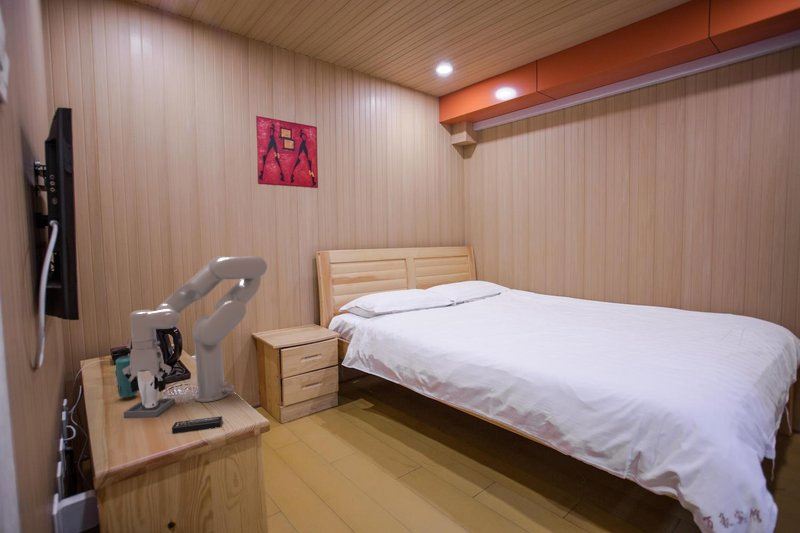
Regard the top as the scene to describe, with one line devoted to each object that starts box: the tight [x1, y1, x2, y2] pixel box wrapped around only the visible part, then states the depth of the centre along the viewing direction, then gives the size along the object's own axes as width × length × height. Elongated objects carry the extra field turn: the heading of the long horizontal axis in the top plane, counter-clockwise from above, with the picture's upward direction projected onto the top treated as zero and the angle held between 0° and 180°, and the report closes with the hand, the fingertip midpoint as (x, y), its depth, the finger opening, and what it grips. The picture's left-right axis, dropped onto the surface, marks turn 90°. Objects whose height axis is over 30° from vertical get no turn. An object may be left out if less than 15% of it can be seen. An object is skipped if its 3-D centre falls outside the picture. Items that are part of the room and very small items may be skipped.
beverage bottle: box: [114, 347, 139, 398], centre depth 164 cm, size 6×7×20 cm
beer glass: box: [136, 371, 161, 411], centre depth 152 cm, size 7×7×15 cm
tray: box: [123, 397, 176, 419], centre depth 153 cm, size 12×12×2 cm
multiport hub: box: [171, 415, 224, 435], centre depth 138 cm, size 4×14×2 cm, turn 104°
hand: (148, 390), depth 152 cm, fingers open, 9 cm apart
